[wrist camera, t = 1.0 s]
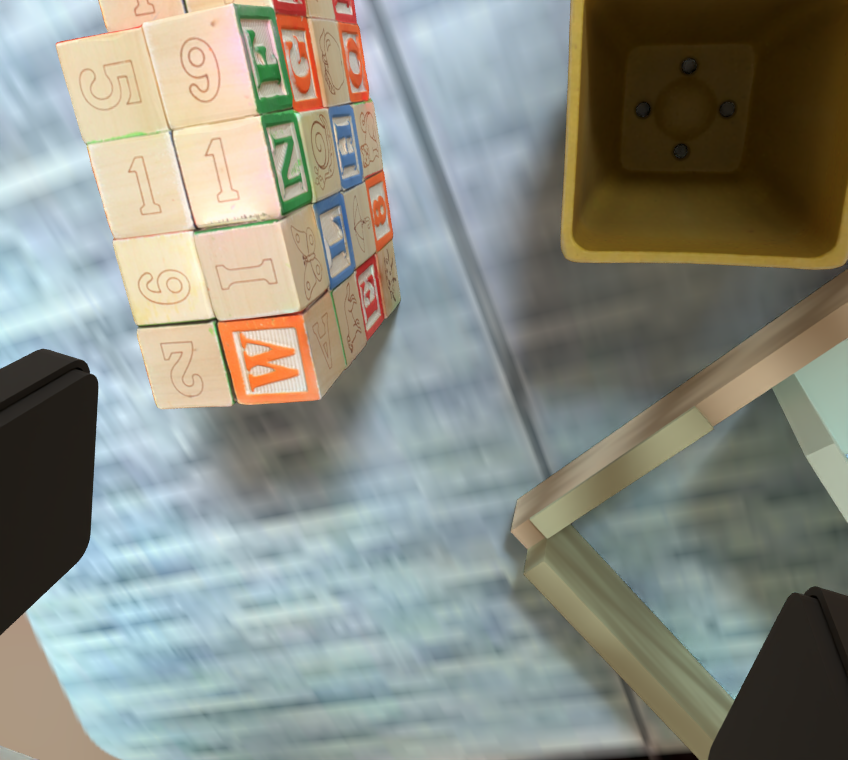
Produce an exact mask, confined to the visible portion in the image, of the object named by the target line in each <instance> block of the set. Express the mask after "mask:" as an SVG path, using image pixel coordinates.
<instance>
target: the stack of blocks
mask: <svg viewBox="0 0 848 760" xmlns="http://www.w3.org/2000/svg"><path fill="white" fill-rule="evenodd" d="M98 1H99V4H100V8H101V11H102V15H103V19H104V22H105V26H106V28H107V31H108V33H104V34H99V35H93V36H88V37H82V38H76V39H72V40H66V41H61V42H57V43H56V49H57V53H58V57H59V60H60V64H61V67H62V71H63V74H64V78H65V81H66V84H67V88H68V91H69V94H70V97H71V101H72V104H73V108H74V112H75V115H76V119H77V122H78V125H79V129H80V132H81V135H82V139H83V141H84V142H85V143H86V145H87V149H88V153H89V157H90V161H91V166H92V169H93V173H94V176H95V179H96V183H97V186H98V190H99V192H100V195H101V198H102V202H103V206H104V210H105V214H106V217H107V221H108V224H109V227H110V230H111V232H112V234H113V236H114V239H113V242H112V243H113V246H114V250H115V254H116V258H117V261H118V265H119V268H120V272H121V276H122V279H123V283H124V286H125V290H126V293H127V297H128V300H129V304H130V307H131V310H132V314H133V317H134V321H135V323H136V324H137V325H138V326H139V327H138V329H137V337H138V341H139V345H140V349H141V352H142V356H143V360H144V363H145V367H146V371H147V374H148V378H149V382H150V385H151V389H152V393H153V396H154V400H155V403H156V405H157V407H158V408H160V409H174V408H197V407H227V406H233V405H234V404H235V403H236V402H238V403H239V404H244V405H255V404H271V403H288V402H303V401H315V400H320V399H321V398H322V397H323V396H324V395H325V393H326V392H327V391H328V389H329V388H330V387H331V386H332V384H333V383H334V382H335V381H336V379H337V378H338V377H339V375H340V374H341V373H342V371H343V370H345V369H347V368H348V367H349V365H350V364H351V363H352V360H354V359H355V358H356V356H357V355H358V354H359V353H360V352H361V351H362V349H363V348H364V347H365V345H366V344H367V341H368V339H369V338H370V337H371V336H372V335H373V334H374V332H375V331H376V330H377V329H378V327H379V326H380V325H381V323H382V322H383V320H384V319H386V318H388V317H389V315H390V314H391V313H392V312H393V311H394V309H395V308H396V306H397V305H398V304H399V302H400V301H401V296H400V289H399V283H398V276H397V269H396V262H395V255H394V249H393V242H392V238H393V230H392V224H391V217H390V210H389V203H388V197H387V190H386V183H385V177H384V172H383V163H382V155H381V147H380V141H379V135H378V128H377V122H376V116H375V109H374V104H373V101H372V100H371V98H370V95H369V85H368V81H367V74H366V70H365V61H364V55H363V49H362V42H361V36H360V29H359V26H358V24H357V21H356V13H355V5H354V0H98Z"/></svg>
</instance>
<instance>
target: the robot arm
mask: <svg viewBox="0 0 848 760" xmlns="http://www.w3.org/2000/svg"><path fill="white" fill-rule="evenodd" d="M97 404H98V381H97V378H96V377H95V376H94V375H93V374H90V370H89V367H88V364H87V363H86V362H85V361H83V360H80V359H77V358H74V357H70V356H67V355H64V354H61V353H57V352H54V351H51V350H47V349H40V350H37V351H35V352H33V353H31V354H29V355H27V356H25V357H23V358H21V359H19V360H17V361H15V362H13V363H11V364H9V365H7V366H5V367H3V368H1V369H0V635H1V634H2V633H3V632H4V631H5V630H6V629H7V628H9V626H10V625H12V623H14V622H15V621H16V620H17V619H18V618H19V617H20V616H21V615H22V614H23V613H24V612H25V611H27V610H28V609H29V608H30V607H31V606H32V605H33V604H34V603H35V602H36V601H37V600H38V599H39V598H40V597H41V596H42V595H43V594H45V593H46V592H47V591H48V590H49V589H50V588H51V587H52V586H53V585H54V584H55V583H56V582H57V581H58V580H59V579H60V578H61V577H63V576H64V575H65V574H66V573H67V572H68V571H69V570H70V569H71V568H72V567H73V566H74V565H75V564H76V563H77V562H78V561H79V560H80V559H81V557H82V556H83V554H84V553H85V551H86V548H87V546H88V543H89V540H90V533H91V515H92V496H93V478H94V459H95V441H96V422H97ZM0 760H38V759H35V758H32V757H30V756H27V755H24V754H21V753H19V752H16V751H13V750H10V749H8V748H5V747H2V746H0ZM708 760H848V596H845V595H842V594H839V593H836V592H832V591H829V590H826V589H823V588H819V587H816V586H815V587H811V588H810V589H809V590H807V591H806V592H805V594H804V595H802V594H799V593H796V592H795V593H792V594H791V595H790V596H789V597H788V599H787V600H786V602H785V604H784V605H783V607H782V609H781V611H780V613H779V615H778V617H777V619H776V621H775V623H774V625H773V627H772V629H771V631H770V633H769V635H768V637H767V639H766V640H765V642H764V644H763V646H762V648H761V650H760V652H759V654H758V656H757V658H756V660H755V662H754V664H753V666H752V668H751V670H750V672H749V673H748V675H747V677H746V679H745V681H744V683H743V685H742V687H741V689H740V691H739V693H738V695H737V697H736V699H735V701H734V703H733V705H732V706H731V708H730V710H729V712H728V714H727V716H726V718H725V720H724V722H723V724H722V726H721V728H720V730H719V732H718V734H717V736H716V738H715V740H714V741H713V744H712V746H711V748H710V752H709V756H708Z"/></svg>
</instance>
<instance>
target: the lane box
mask: <svg viewBox="0 0 848 760" xmlns="http://www.w3.org/2000/svg"><path fill="white" fill-rule="evenodd" d="M846 338H848V269H846V270H845V271H844V272H842V273H841V274H839V275H838V276H836V277H835V278H834V279H832V280H831V281H829V282H828V283H826V284H825V285H824V286H822V287H821V288H819V289H818V290H816V291H815V292H814V293H812V294H811V295H809V296H808V297H806V298H805V299H804V300H802V301H801V302H799V303H798V304H796V305H795V306H794V307H792V308H791V309H789V310H788V311H786V312H785V313H784V314H782V315H781V316H779V317H778V318H776V319H775V320H774V321H772V322H771V323H769V324H768V325H766V326H765V327H764V328H762V329H761V330H759V331H758V332H756V333H755V334H753V335H752V336H751V337H749V338H748V339H746V340H745V341H743V342H742V343H741V344H739V345H738V346H736V347H735V348H733V349H732V350H731V351H729V352H728V353H726V354H725V355H723V356H722V357H721V358H719V359H718V360H716V361H715V362H713V363H712V364H711V365H709V366H708V367H706V368H705V369H703V370H702V371H701V372H699V373H698V374H696V375H695V376H693V377H692V378H691V379H689V380H688V381H686V382H685V383H683V384H682V385H681V386H679V387H678V388H676V389H675V390H673V391H672V392H670V393H669V394H668V395H666V396H665V397H663V398H662V399H660V400H659V401H658V402H656V403H655V404H653V405H652V406H650V407H649V408H648V409H646V410H645V411H643V412H642V413H640V414H639V415H638V416H636V417H635V418H633V419H632V420H630V421H629V422H628V423H626V424H625V425H623V426H622V427H620V428H619V429H618V430H616V431H615V432H613V433H612V434H610V435H609V436H608V437H606V438H605V439H603V440H602V441H600V442H599V443H598V444H596V445H595V446H593V447H592V448H590V449H589V450H587V451H586V452H585V453H583V454H582V455H580V456H579V457H577V458H576V459H575V460H573V461H572V462H570V463H569V464H567V465H566V466H565V467H563V468H562V469H560V470H559V471H557V472H556V473H555V474H553V475H552V476H550V477H549V478H547V479H546V480H545V481H543V482H542V483H540V484H539V485H537V486H536V487H535V488H533V489H532V490H530V491H529V492H527V493H526V494H525V495H523V496H522V497H520V498H519V499H517V504H516V509H515V513H514V518H513V523H512V527H511V532H512V533H513V534H514V536H515V537H516V538H517V539H518V540H519V541H520V542H521V543H522V544H523V545H524V546H525V547H526V548H527V549H528V550H527V556H526V562H525V567H524V573H523V574H524V576H525V577H526V578H527V579H528V580H529V581H530V582H531V583H532V584H533V585H534V586H535V587H536V588H537V589H538V590H539V591H540V592H541V593H542V595H543V596H544V597H545V598H546V599H547V600H548V601H549V602H550V603H551V604H552V605H553V606H554V607H555V608H556V609H557V610H558V611H559V612H560V613H561V615H562V616H563V617H564V618H565V619H566V620H567V621H568V622H569V623H570V624H571V625H572V626H573V627H574V628H575V629H576V630H577V631H578V632H579V633H580V635H581V636H582V637H583V638H584V639H585V640H586V641H587V642H588V643H589V644H590V645H591V646H592V647H593V648H594V649H595V650H596V651H597V652H598V654H599V655H600V656H601V657H602V658H603V659H604V660H605V661H606V662H607V663H608V664H609V665H610V666H611V667H612V668H613V669H614V670H615V671H616V672H617V674H618V675H619V676H620V677H621V678H622V679H623V680H624V681H625V682H626V683H627V684H628V685H629V686H630V687H631V688H632V689H633V690H634V691H635V692H636V694H637V695H638V696H639V697H640V698H641V699H642V700H643V701H644V702H645V703H646V704H647V705H648V706H649V707H650V708H651V709H652V710H653V711H654V713H655V714H656V715H657V716H658V717H659V718H660V719H661V720H662V721H663V722H664V723H665V724H666V725H667V726H668V727H669V728H670V729H671V730H672V731H673V733H674V734H675V735H676V736H677V737H678V738H679V739H680V740H681V741H682V742H683V743H684V744H685V745H686V746H687V747H688V748H689V749H690V750H691V751H692V753H693V754H694V755H695V756H696V757H697V758H698V759H699V760H708V756H709V752H710V748H711V746H712V744H713V741H714V740H715V738H716V736H717V734H718V732H719V730H720V728H721V726H722V724H723V722H724V720H725V718H726V716H727V714H728V712H729V710H730V708H731V706H732V705H733V703H734V700H733V699H732V698H731V697H730V696H729V694H728V693H727V692H726V691H725V690H724V689H723V688H722V687H721V686H720V685H719V684H718V683H717V682H716V680H715V679H714V678H713V677H712V676H711V675H710V674H709V673H708V672H707V671H706V670H705V669H704V668H703V666H702V665H701V664H700V663H699V662H698V661H697V660H696V659H695V658H694V657H693V656H692V655H691V653H690V652H689V651H688V650H687V649H686V648H685V647H684V646H683V645H682V644H681V643H680V642H679V641H678V639H677V638H676V637H675V636H674V635H673V634H672V633H671V632H670V631H669V630H668V629H667V628H666V627H665V625H664V624H663V623H662V622H661V621H660V620H659V619H658V618H657V617H656V616H655V615H654V614H653V613H652V611H651V610H650V609H649V608H648V607H647V606H646V605H645V604H644V603H643V602H642V601H641V600H640V598H639V597H638V596H637V595H636V594H635V593H634V592H633V591H632V590H631V589H630V588H629V587H628V586H627V584H626V583H625V582H624V581H623V580H622V579H621V578H620V577H619V576H618V575H617V574H616V573H615V572H614V570H613V569H612V568H611V567H610V566H609V565H608V564H607V563H606V562H605V561H604V560H603V559H602V557H601V556H600V555H599V554H598V553H597V552H596V551H595V550H594V549H593V548H592V547H591V546H590V545H589V543H588V542H587V541H586V540H585V539H584V538H583V537H582V536H581V535H580V534H579V533H578V532H577V531H576V529H575V528H574V527H573V526H572V525H571V523H572V522H574V521H575V520H577V519H578V518H580V517H581V516H583V515H584V514H586V513H587V512H589V511H591V510H592V509H594V508H595V507H597V506H598V505H600V504H601V503H603V502H604V501H606V500H607V499H609V498H610V497H612V496H613V495H615V494H616V493H618V492H619V491H621V490H622V489H624V488H625V487H627V486H628V485H630V484H631V483H633V482H634V481H636V480H637V479H639V478H641V477H642V476H644V475H645V474H647V473H648V472H650V471H651V470H653V469H654V468H656V467H657V466H659V465H660V464H662V463H663V462H665V461H666V460H668V459H669V458H671V457H672V456H674V455H675V454H677V453H678V452H680V451H681V450H683V449H684V448H686V447H687V446H689V445H691V444H692V443H694V442H695V441H697V440H698V439H700V438H701V437H703V436H704V435H706V434H707V433H709V432H710V431H712V430H713V429H714V428H713V426H715V425H716V424H718V423H719V422H721V421H722V420H724V419H725V418H727V417H729V416H730V415H732V414H733V413H735V412H736V411H738V410H739V409H741V408H742V407H744V406H745V405H747V404H748V403H750V402H751V401H753V400H754V399H756V398H757V397H759V396H760V395H762V394H763V393H765V392H766V391H768V390H769V389H771V388H772V387H774V386H775V385H777V384H778V383H780V382H781V381H783V380H784V379H786V378H787V377H789V376H790V375H792V374H794V373H795V372H797V371H798V370H800V369H801V368H803V367H804V366H806V365H807V364H809V363H810V362H812V361H813V360H815V359H816V358H818V357H819V356H821V355H822V354H824V353H825V352H827V351H828V350H830V349H831V348H833V347H834V346H836V345H837V344H839V343H840V342H842V341H843V340H845V339H846Z"/></svg>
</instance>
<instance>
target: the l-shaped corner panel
mask: <svg viewBox="0 0 848 760" xmlns="http://www.w3.org/2000/svg"><path fill="white" fill-rule="evenodd" d="M772 389H773V391H774V393H775V395H776V398H777V400H778V402H779V404H780V406H781V408H782V410H783V412H784V414H785V416H786V418H787V420H788V422H789V424H790V426H791V428H792V430H793V432H794V434H795V437H796V439H797V441H798V443H799V445H800V447H801V449H802V451H803V453H804V455H805V457H806V458H807V460H808V462H809V463H810V465H811V466H812V468H813V469H814V471H815V473H816V474H817V476H818V477H819V479H820V481H821V482H822V484H823V485H824V487H825V488H826V490H827V492H828V493H829V495H830V496H831V498H832V499H833V501H834V503H835V504H836V506H837V507H838V509H839V510H840V512H841V514H842V515H843V517H844V518H845V520H846V521H847V523H848V459H847V458H846V456H845V454H848V339H846V340H844V341H842V342H840V343H839V344H837V345H836V346H834V347H833V348H831V349H830V350H828V351H827V352H825V353H824V354H822V355H821V356H819V357H818V358H816V359H815V360H813V361H812V362H810V363H809V364H807V365H806V366H804V367H803V368H801V369H800V370H798V371H797V372H795V373H794V374H792V375H790V376H789V377H787V378H786V379H784V380H783V381H781V382H780V383H778V384H777V385H775V386H774V387H772Z"/></svg>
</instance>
